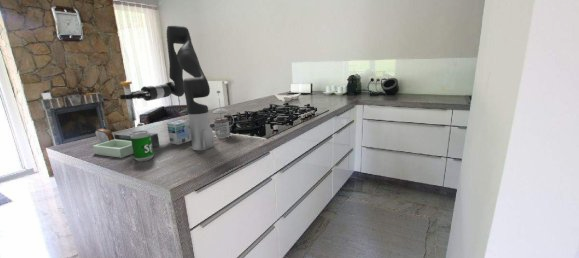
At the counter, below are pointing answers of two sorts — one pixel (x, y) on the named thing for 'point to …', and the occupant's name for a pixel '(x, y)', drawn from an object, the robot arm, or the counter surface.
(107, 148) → the tray
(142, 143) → the soda can
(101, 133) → the bread slice
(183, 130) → the light bulb box
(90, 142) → the counter surface
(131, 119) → the gold capped white cylinder
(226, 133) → the french press
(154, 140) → the hitch bar
